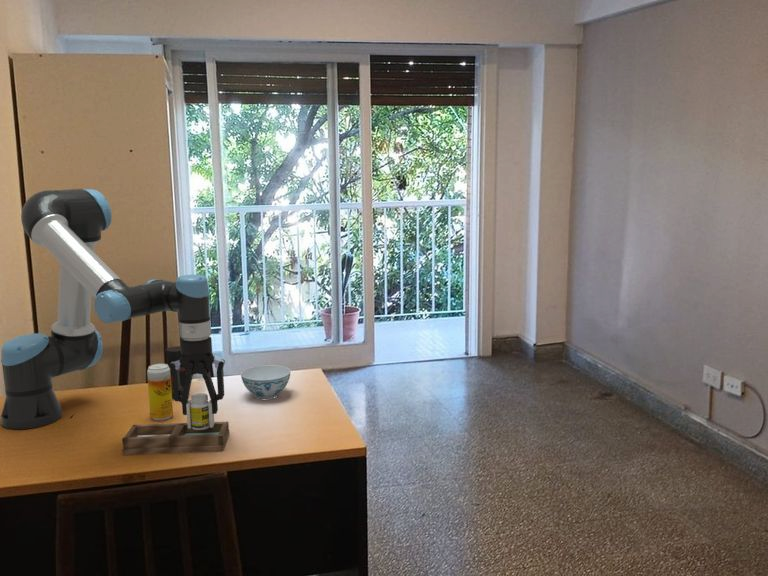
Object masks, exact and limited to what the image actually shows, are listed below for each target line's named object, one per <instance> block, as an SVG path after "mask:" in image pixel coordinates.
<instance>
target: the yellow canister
mask: <svg viewBox="0 0 768 576" xmlns="http://www.w3.org/2000/svg"><path fill="white" fill-rule="evenodd" d="M146 372H147V373H146V374H147V375H146V376H147V387H148V404H149V416H150V418H151V419H152V420H153V421H156V422H158V421H159V422H162V421H166V420H169V419H171V418H172V416H173V414H174V408H173V399H172V391H171V375H170V368H169V366H168V365H167V363H155V364H151V365H149V366H148V368H147V371H146Z"/></svg>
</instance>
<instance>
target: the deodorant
mask: <svg viewBox="0 0 768 576" xmlns="http://www.w3.org/2000/svg"><path fill="white" fill-rule="evenodd" d="M165 352H166V354H165V355H166V364H167V365H168V366H169V365H170V364H171V362H172V361H178V360H180V357H181V346H180V345H179V346H178V345H177V346H169V347H167V348H166V349H165ZM169 368H170V367H169ZM186 373H187V371H186V370H185V368H184V367H183V366H182V365H181V364H180V368H179V375H180V389H181V395H182V396H183V391H184V385H185V380H186ZM170 375H171V391H172V400H174V392H173V378H172V372H171V369H170Z"/></svg>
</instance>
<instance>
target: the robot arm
mask: <svg viewBox="0 0 768 576" xmlns="http://www.w3.org/2000/svg"><path fill="white" fill-rule="evenodd" d="M20 216H21V217H20V219H21V224H22V225H21V226H22V228H23V229H24V232H25V233H26V235H27V236H28V238H29V239H31V241H32V242H33V243H34V244H35V245H37V246H38V247H39V246H40V247H44V248H45V249H46V250H47V251H48V252H49V253H50V255H52V257H54V258H55V259H56V260H57V261H58V263H59V277H58V280H59V281H58V299H57V300H58V301H57V302H58V303H57V321H55V322H54V323H53V324H52V325H51V327H50V335H49V336H47V334H45V333H37V332H35V333H29V334H24V335H19V336H17V337H13V338H11V339H10V340H8V341H6V342H5V343H4V345H2V347H1V348H0V349H1V350H0V351H1V353H0V354H1V355H0V357H1V359H0V360H1V365H2V366H1V367H2V375H3V382H4V390H5V391H4V392H5V399H4V403H3V407H2V410H1V414H0V419H1V420H0V421H1V426H2V427H3V428H6V429H11V430H26V429H33V428H39V427H42V426H47V425H49V424H52V423H54V422H56V421H58V420H60V419H61V418H62V416H63V410H62V408H63V407H62V405H61V403H60V401H59V400H58V397H57V395H56V394H55V391H54V388H53V378H55V377H59V376H63V375H67V374H69V373H73V372H74V373H75V372H76V371H83V370H85V369H87V368H90V367H92V366H95V365H96V364H97V363H98V362H99V361H100V359H101V357H102V355H103V350H104V343H103V342H104V341H103V340H102V336H101V333H100V332H99V331H98V330H97V329H96V327H95V325H94V324H93V323H92V322H91V312H92V311H91V308H92V297H93V298H94V300H93V301H94V302H93V307H94V309H93V310H94V312H96V316H97V318H98V319H99V320H100V321H102V322H104V323H106V324H109V323H110V324H111V323H116V322H119V323H120V322H124V321H126V320H132V319H135V318H139V317H142V316H148V315H152V314H156V313H161V312H167V311H168V312H173V313H174V312H175V313H177V314H178V327H179V338H180V341H179V344H180V345H179V346H181V357H180V360H178V361H172V362H171V364H170V365H169V367H170V369H171V372H172V378H173V392H174V399H173V401H174V402H179V403H181V406H182V407H181V408H182V409H181V410H182V415H183V416H186V420H187V422H186V423H187V424H188V429H189V428H191V427H192V426H191V409H190V405H191V403H192V401H191V399H189V398H190V392H191V386H192V382H193V376H194V375H198V374H199V375H201V376H202V378H203V380H204V383H205V386H206V390H207V392H208V395H209V396H208V397H209V400H208V402H209V403H208V408H209V424H210V428H213V426H214V422H215V415H216V414H217V413H218V410H219V407H218V405H219V404H218V401H219V400H220V401H221V400H223V399H224V397H225V383H224V381H225V380H224V378H225V377H224V368H225V364H226V360H225V359H217V358H215V356H214V353H213V343H212V341H213V340H212V337H211V335H212V326H211V323H212V322H211V308H210V289H209V281H208V278H207V277H206V276H205V275H203V274H184V275H179V276H177V278H176V281H174V280H173V281H172V280H166V279H165V280H164V279H161V278H160V279H150V280H147V281H146V282H144V284H143V283H142V284H139V285H135V286H134V285H132V286H129V285H127V283H126V282H125V281H123V280H122V279H121V277H119V276H118V275H117V274H116V273H115V272H114V271H113V270H112V269H111V267H109V266H108V265H107V264H106V263H105V262H104V261H103V260H102V258H100V256H98V254H96V253H95V246H96V245H97V244H98V243H99V242H100V241H101V240H102V232H103V231H105V230H107V229H108V228H109V227H110V226H111V224H112V220H113V219H112V217H113V216H112V210H111V206H110V204H109V201H107V198H106V196H105V195H103V194H102V192H100V191H98V190H96V189H91V188H90V189H87V188H77V189H76V188H75V189H74V188H73V189H57V190H51V189H50V190H49V189H47V190H46V189H45V190H41V191H38V192H36V193H34V194H33V195H31V196H30V197H29V198H28V199H27V200H26V201H25V203H24V205H23V206H22V209H21V214H20ZM180 364H181V365H182V366H183V367H184V368H185V370H186V371H187V373H186V380H185V385H184V391H183V396H182V395H181V389H180V375H179V368H180ZM213 364H214V367H215V369H216V381H217V382H216V384H217V392H216V388H215V385H214V382H213V378H212V376H211V371H210V368H212V367H211V366H212V365H213Z"/></svg>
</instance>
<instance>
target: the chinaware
mask: <svg viewBox="0 0 768 576" xmlns="http://www.w3.org/2000/svg"><path fill="white" fill-rule="evenodd" d="M240 377H241V380H242V381H241V382H242V384H243V385H244V387H245V388H246V390H247V391H248V392H249V393H251V394H253V395H254V396H255V399H257V398H259V399H258V400H260V399H270V400H272V399H271V398H274V397H276V396H277V395H278V396H279V394H280V393H281V392H282V391H283V390H284V389H285V388H286V386H288V385H287V384H288V383H289V382H290V381H289V380H290V378H291V369H290V368H289V367H287V366H283V365H277V364H265V365H263V364H262V365H256V366H252V367H248V368H246V369H244V370H242V371H241V373H240ZM278 396H277V397H278ZM277 397H276V398H277ZM274 399H275V398H274Z"/></svg>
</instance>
